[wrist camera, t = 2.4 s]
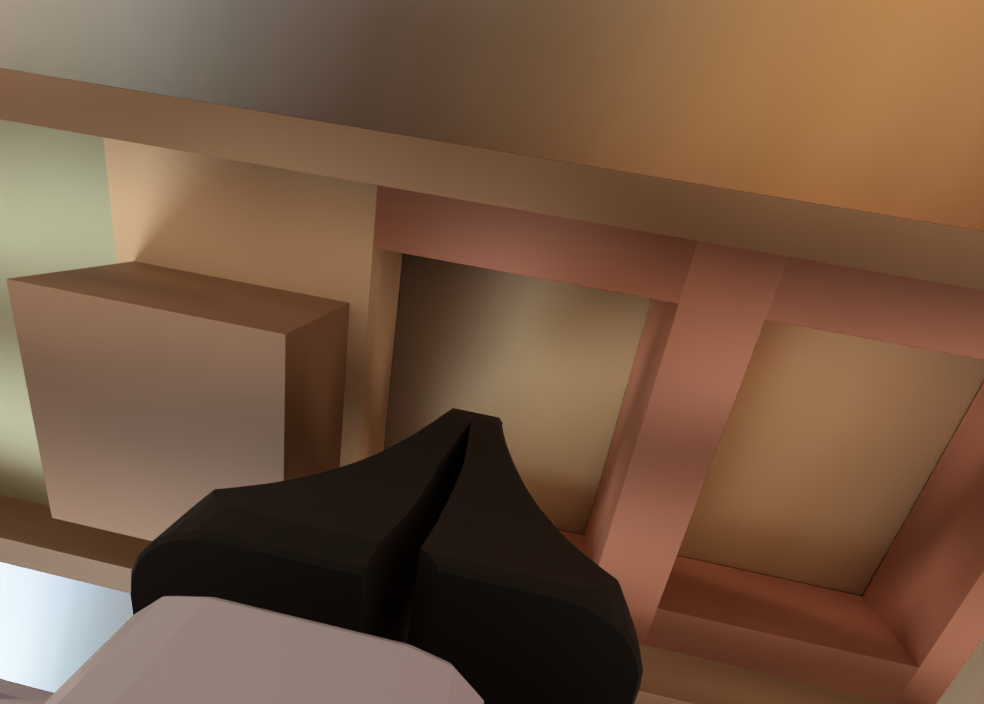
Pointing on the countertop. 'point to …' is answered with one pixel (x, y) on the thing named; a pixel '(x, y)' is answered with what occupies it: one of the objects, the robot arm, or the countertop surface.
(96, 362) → the walnut block
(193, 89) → the countertop surface
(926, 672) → the box
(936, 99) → the countertop surface
